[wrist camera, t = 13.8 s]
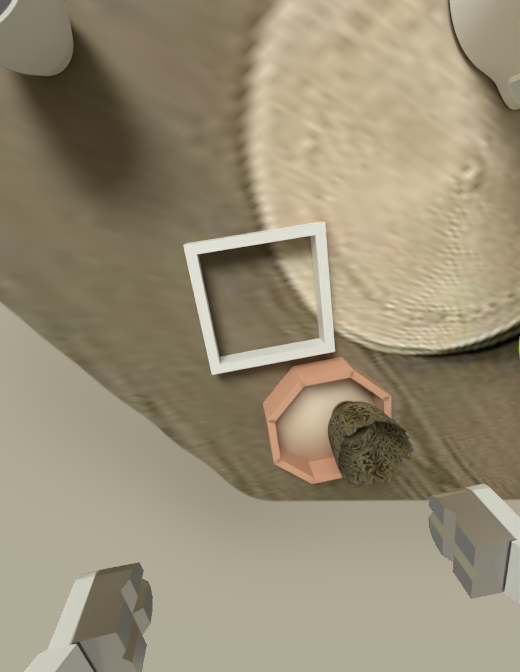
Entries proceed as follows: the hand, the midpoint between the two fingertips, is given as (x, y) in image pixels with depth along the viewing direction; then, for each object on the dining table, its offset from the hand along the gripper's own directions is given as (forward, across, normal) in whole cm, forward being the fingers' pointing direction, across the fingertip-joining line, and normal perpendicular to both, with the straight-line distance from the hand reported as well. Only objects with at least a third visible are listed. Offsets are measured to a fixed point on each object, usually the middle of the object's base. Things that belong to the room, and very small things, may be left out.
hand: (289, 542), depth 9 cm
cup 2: (+26, -10, +15) cm, 31 cm away
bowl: (+26, -7, +15) cm, 31 cm away
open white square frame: (+26, -2, 0) cm, 27 cm away
